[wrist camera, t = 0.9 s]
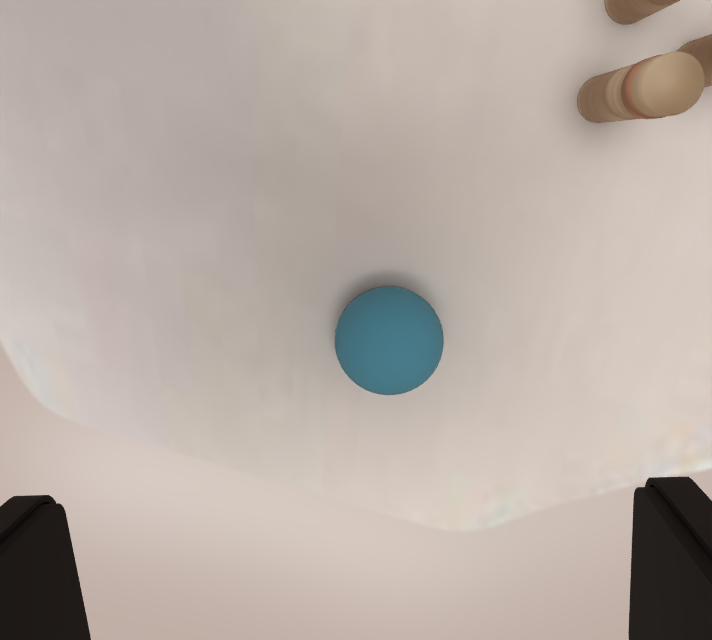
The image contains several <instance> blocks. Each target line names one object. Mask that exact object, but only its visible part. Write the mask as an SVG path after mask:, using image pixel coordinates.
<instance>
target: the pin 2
mask: <svg viewBox="0 0 712 640" xmlns="http://www.w3.org/2000/svg"><path fill="white" fill-rule="evenodd" d="M677 52H684V53H688V54H690V55H692V56H693V57H695V58H696V59H697V60H698V61H699V63H700V64H701V66H702V68H703V72H704V87H708V86H712V34H711V35H708V36H705V37H702V38H699V39H696V40H693V41H691V42H688V43H686V44H685V45H683V46H682V47H681V48H680V49H679V50H678V51H677Z"/></svg>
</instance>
